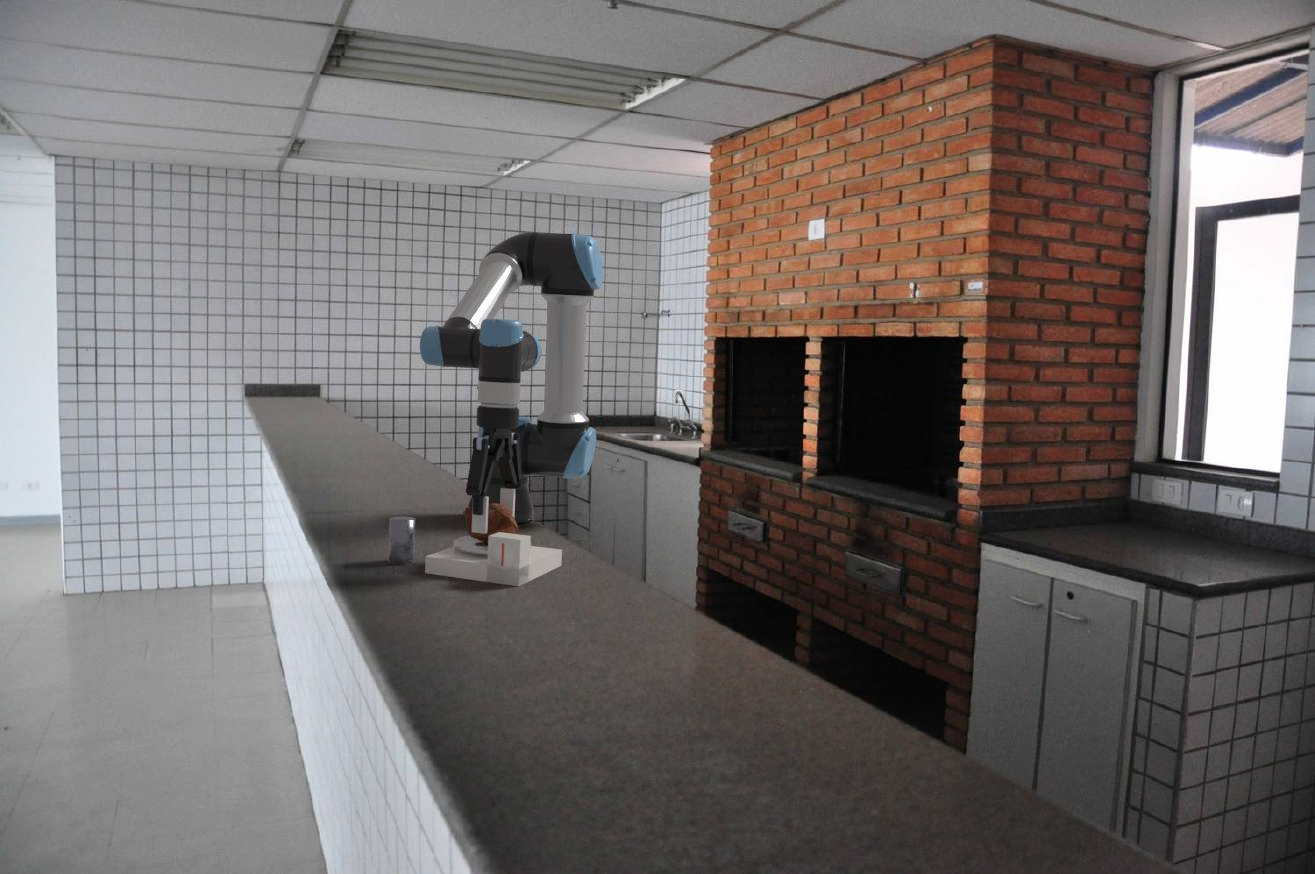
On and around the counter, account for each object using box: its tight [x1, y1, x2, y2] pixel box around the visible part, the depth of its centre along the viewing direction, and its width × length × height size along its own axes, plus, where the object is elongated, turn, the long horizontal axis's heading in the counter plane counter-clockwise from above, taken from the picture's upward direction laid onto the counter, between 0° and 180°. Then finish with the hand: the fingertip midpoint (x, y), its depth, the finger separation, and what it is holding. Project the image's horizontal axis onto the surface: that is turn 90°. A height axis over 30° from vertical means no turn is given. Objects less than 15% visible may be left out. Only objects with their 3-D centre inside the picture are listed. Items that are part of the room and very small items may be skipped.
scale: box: [424, 532, 563, 587], centre depth 180 cm, size 18×18×8 cm
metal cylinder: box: [387, 516, 417, 566], centre depth 182 cm, size 5×5×8 cm
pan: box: [452, 535, 532, 555], centre depth 182 cm, size 14×14×2 cm
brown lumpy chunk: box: [462, 503, 521, 543], centre depth 182 cm, size 13×8×10 cm
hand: (493, 527), depth 182 cm, fingers open, 10 cm apart
